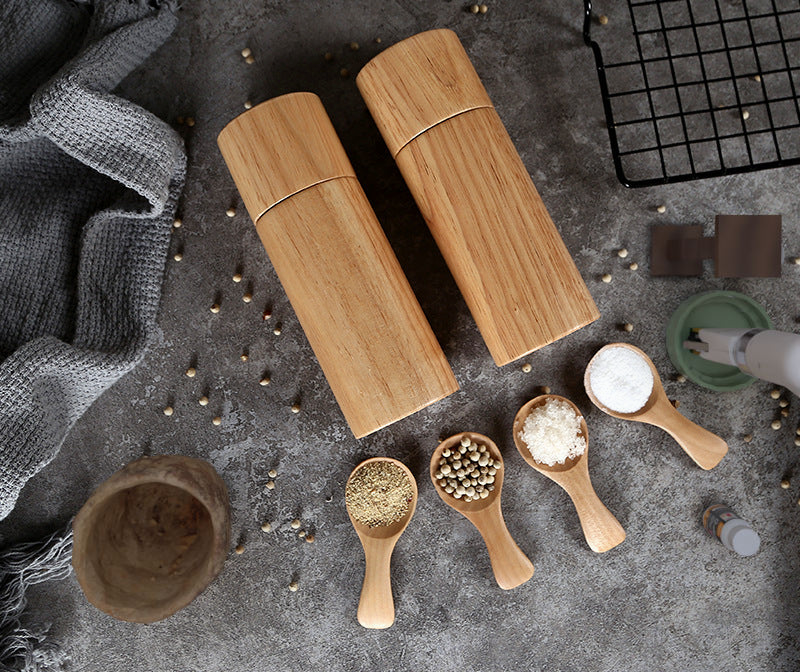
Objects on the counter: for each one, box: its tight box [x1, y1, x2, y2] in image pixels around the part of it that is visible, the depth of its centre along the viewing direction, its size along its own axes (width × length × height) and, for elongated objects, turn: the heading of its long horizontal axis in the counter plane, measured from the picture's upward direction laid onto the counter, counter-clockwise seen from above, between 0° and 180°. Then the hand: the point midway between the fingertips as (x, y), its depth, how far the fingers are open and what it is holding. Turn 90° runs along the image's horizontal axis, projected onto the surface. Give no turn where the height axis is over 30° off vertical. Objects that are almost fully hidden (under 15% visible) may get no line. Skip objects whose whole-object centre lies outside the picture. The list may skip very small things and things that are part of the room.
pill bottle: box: [702, 503, 761, 557], centre depth 112 cm, size 6×6×10 cm
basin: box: [665, 289, 775, 392], centre depth 114 cm, size 18×18×4 cm
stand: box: [649, 214, 783, 279], centre depth 104 cm, size 9×9×25 cm
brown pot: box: [71, 453, 232, 625], centre depth 104 cm, size 22×22×25 cm
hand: (706, 340), depth 113 cm, fingers closed on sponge, 4 cm apart
